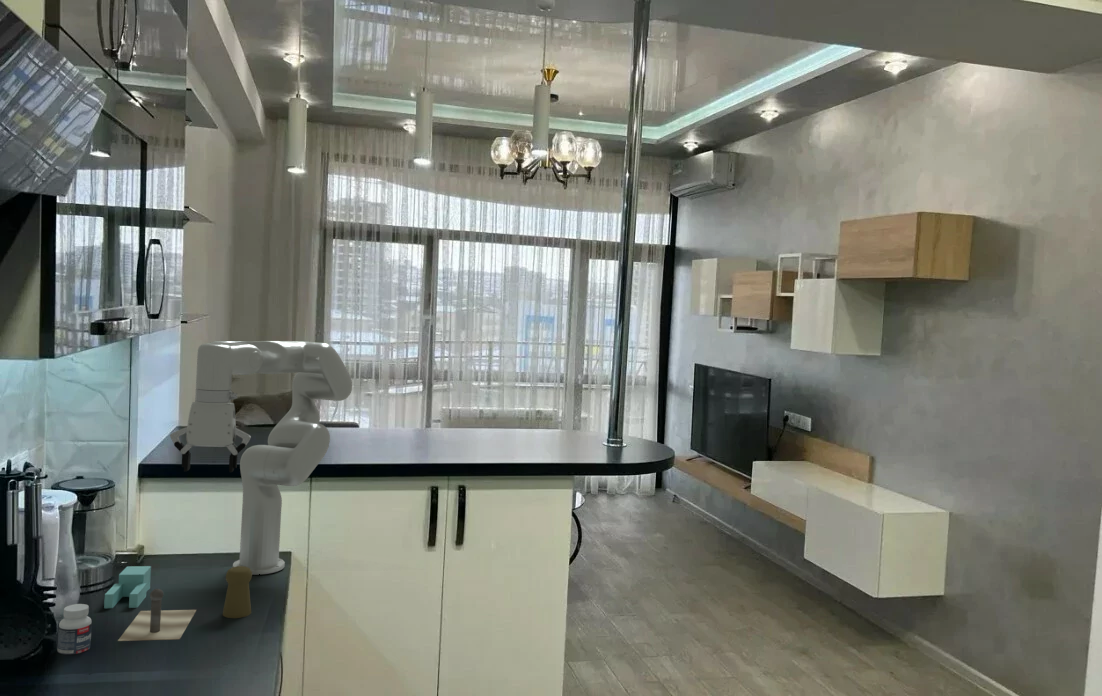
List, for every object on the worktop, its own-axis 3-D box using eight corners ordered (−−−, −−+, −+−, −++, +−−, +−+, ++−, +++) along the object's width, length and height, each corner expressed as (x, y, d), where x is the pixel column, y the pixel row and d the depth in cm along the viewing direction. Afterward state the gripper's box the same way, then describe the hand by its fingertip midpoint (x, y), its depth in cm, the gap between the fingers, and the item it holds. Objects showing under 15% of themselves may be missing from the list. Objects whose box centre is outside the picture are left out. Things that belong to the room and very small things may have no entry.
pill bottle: (78, 661, 144) (80, 613, 144) (50, 659, 144) (52, 611, 144) (96, 650, 149) (98, 603, 149) (69, 648, 150) (71, 601, 149)
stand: (140, 616, 167) (142, 571, 167) (196, 615, 169) (198, 570, 169) (117, 647, 151) (119, 597, 151) (179, 645, 154) (181, 596, 154)
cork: (241, 625, 165) (243, 573, 165) (215, 621, 166) (218, 569, 166) (257, 615, 171) (260, 565, 171) (232, 612, 172) (235, 562, 172)
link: (122, 590, 180) (123, 566, 180) (153, 590, 181) (154, 566, 181) (103, 610, 167) (105, 585, 167) (136, 610, 169) (138, 584, 168)
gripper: (254, 397, 188) (251, 468, 189) (176, 394, 184) (172, 467, 185) (250, 400, 181) (246, 474, 181) (168, 397, 177) (164, 473, 177)
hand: (209, 470), depth 183 cm, fingers open, 9 cm apart
